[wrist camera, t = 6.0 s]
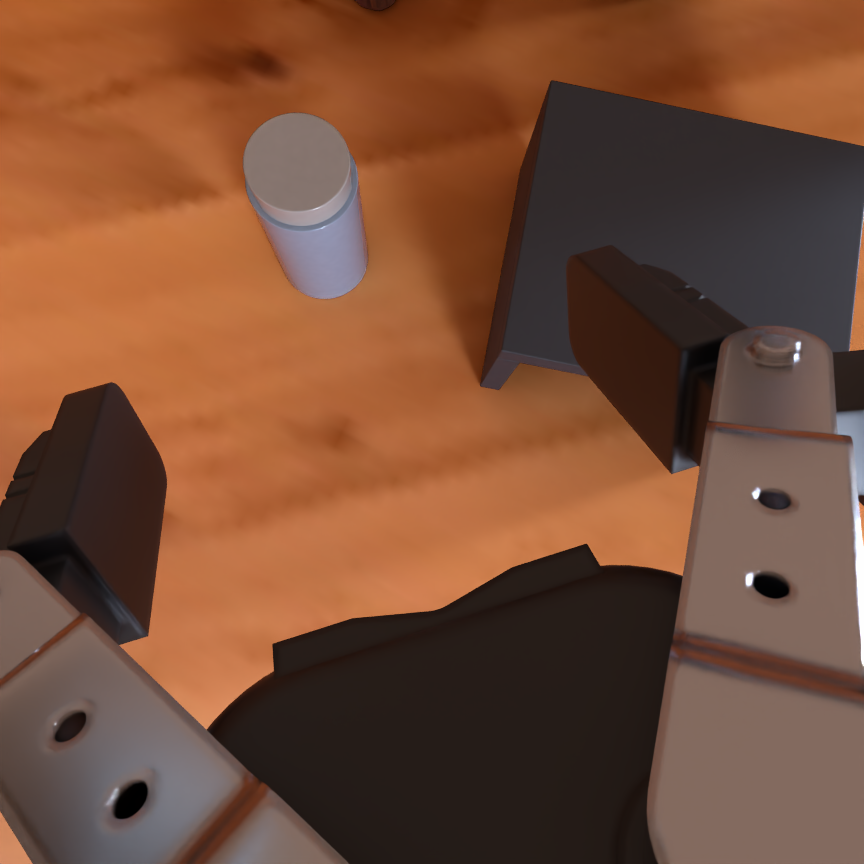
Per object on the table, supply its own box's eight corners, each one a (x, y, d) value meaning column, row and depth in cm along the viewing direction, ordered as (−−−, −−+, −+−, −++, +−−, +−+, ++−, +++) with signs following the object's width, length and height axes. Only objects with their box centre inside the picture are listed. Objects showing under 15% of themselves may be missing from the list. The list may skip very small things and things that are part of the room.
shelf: (520, 168, 34) (550, 79, 27) (776, 221, 34) (871, 147, 27) (479, 386, 32) (500, 350, 25) (749, 440, 33) (842, 420, 26)
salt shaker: (292, 209, 33) (252, 96, 24) (375, 226, 33) (366, 120, 24) (272, 289, 33) (224, 203, 24) (358, 307, 33) (342, 227, 24)
